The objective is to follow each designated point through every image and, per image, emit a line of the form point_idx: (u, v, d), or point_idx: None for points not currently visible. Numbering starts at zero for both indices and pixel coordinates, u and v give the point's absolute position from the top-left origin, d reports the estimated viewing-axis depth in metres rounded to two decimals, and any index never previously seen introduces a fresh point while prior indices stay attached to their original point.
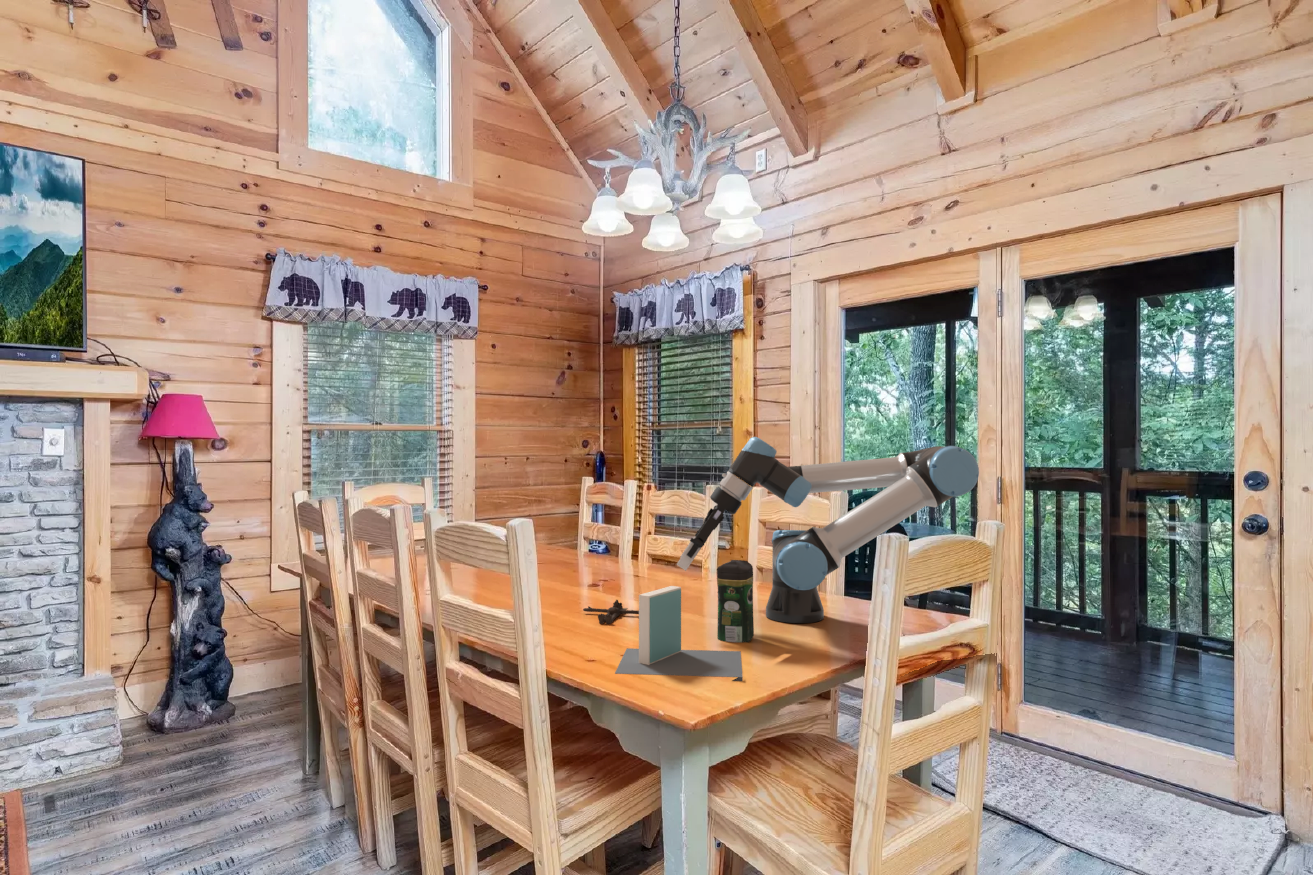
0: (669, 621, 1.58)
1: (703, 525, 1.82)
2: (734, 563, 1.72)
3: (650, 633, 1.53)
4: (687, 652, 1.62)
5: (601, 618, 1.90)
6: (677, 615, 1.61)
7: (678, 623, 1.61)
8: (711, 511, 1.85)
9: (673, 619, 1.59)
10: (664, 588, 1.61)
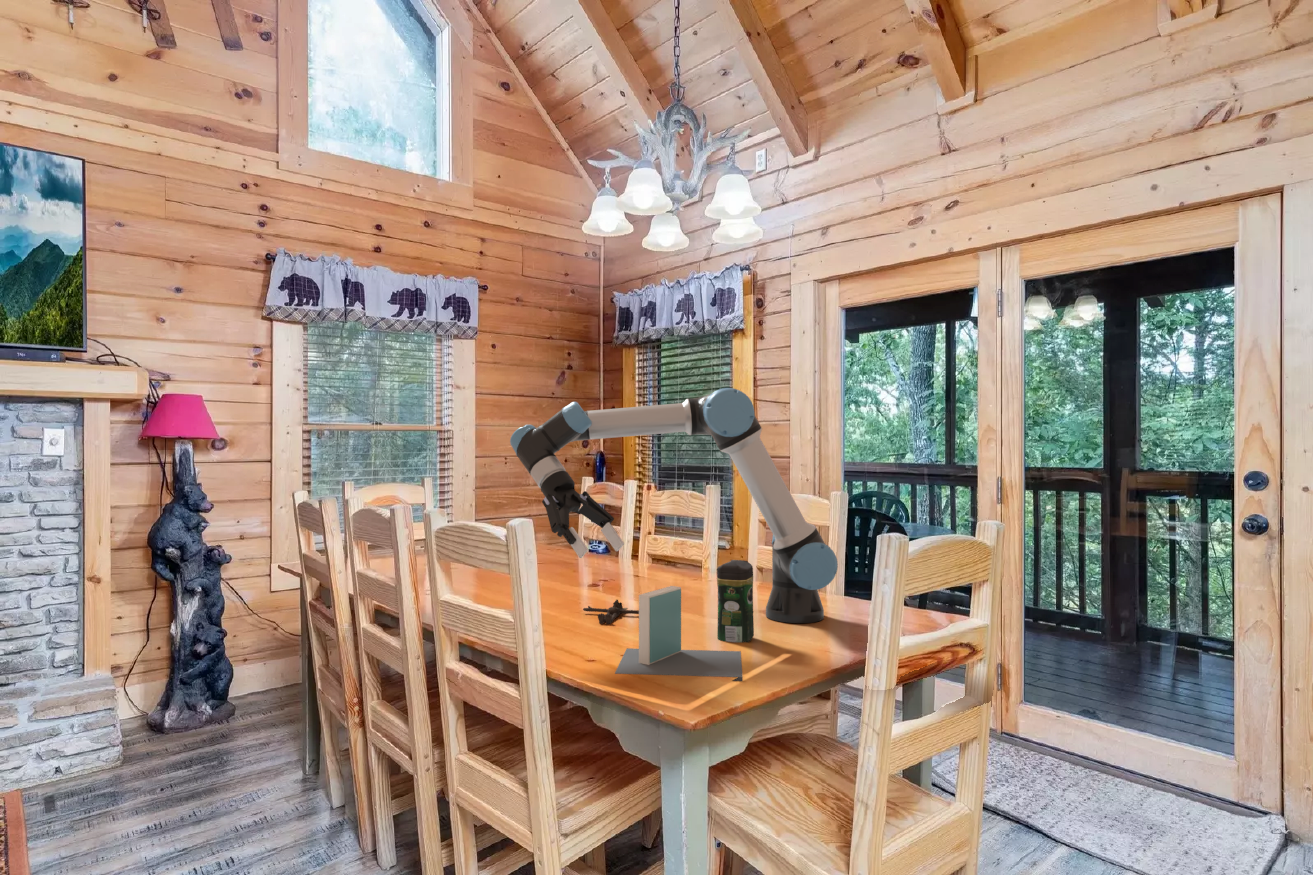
0: (669, 621, 1.58)
1: None
2: (734, 563, 1.72)
3: (650, 633, 1.53)
4: (687, 652, 1.62)
5: (601, 618, 1.90)
6: (677, 615, 1.61)
7: (678, 623, 1.61)
8: None
9: (673, 619, 1.59)
10: (664, 588, 1.61)
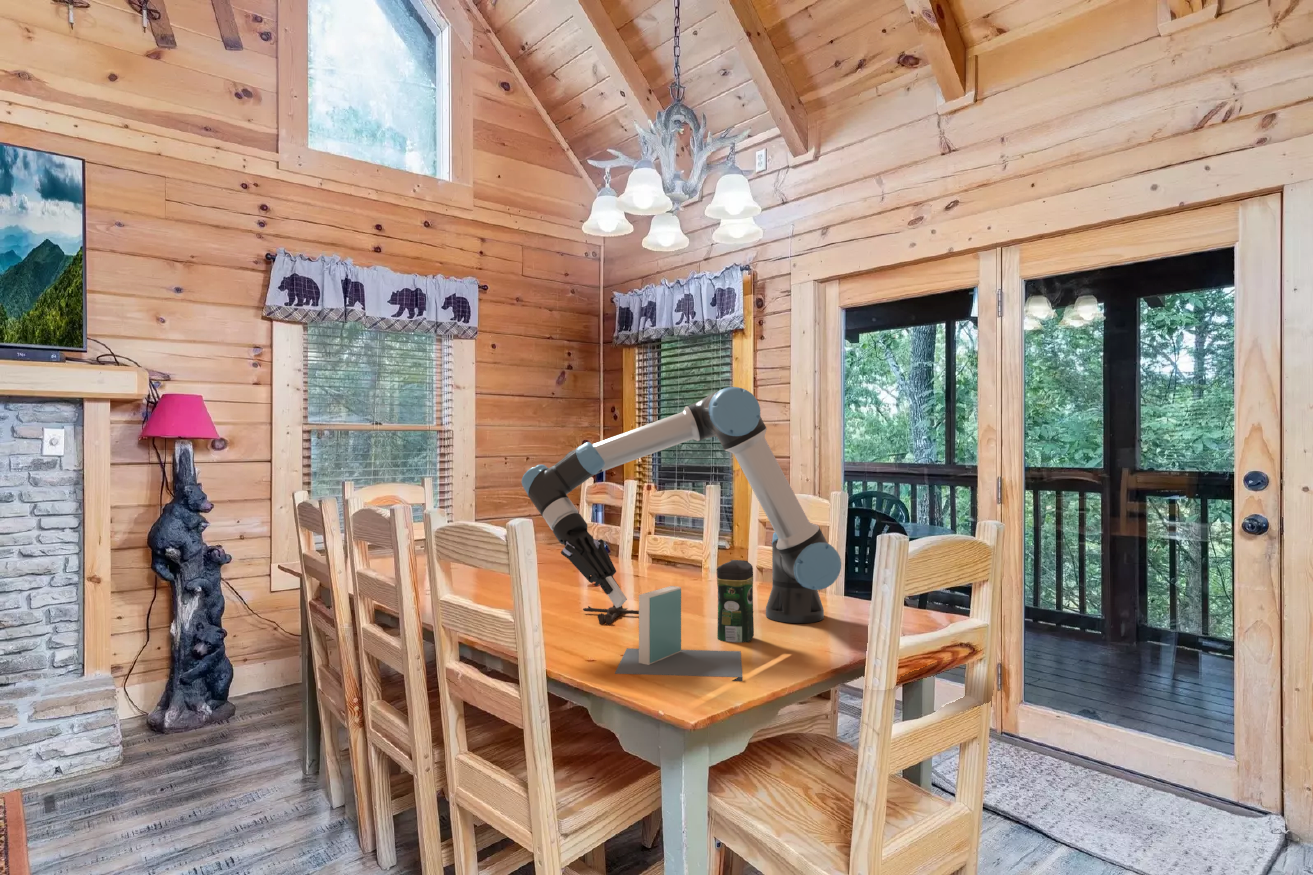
0: (669, 621, 1.58)
1: None
2: (734, 563, 1.72)
3: (650, 633, 1.53)
4: (687, 652, 1.62)
5: (601, 617, 1.90)
6: (677, 615, 1.61)
7: (678, 623, 1.61)
8: None
9: (673, 619, 1.59)
10: (664, 588, 1.61)
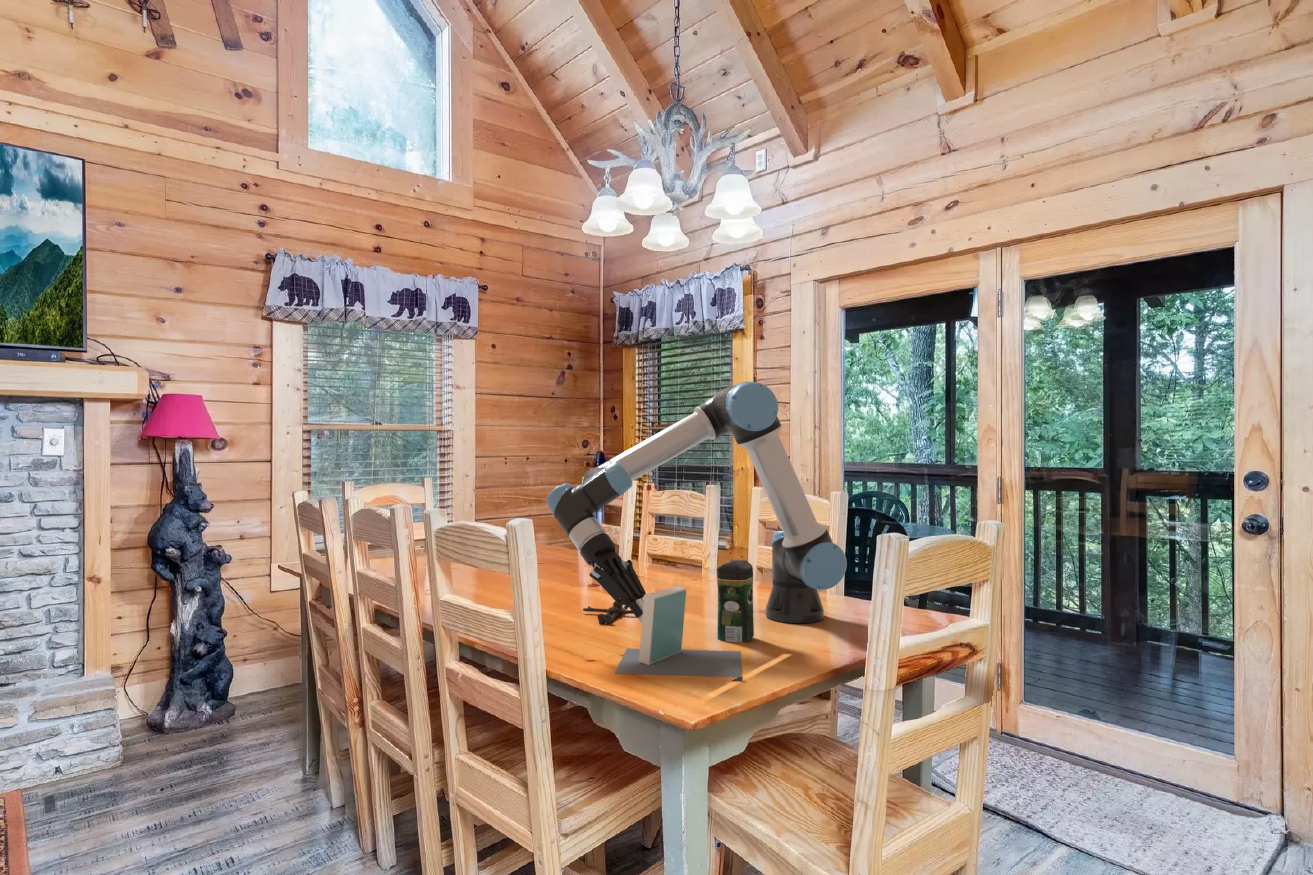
0: (672, 621, 1.58)
1: None
2: (734, 563, 1.72)
3: (653, 634, 1.52)
4: (687, 652, 1.62)
5: (600, 618, 1.90)
6: (680, 615, 1.60)
7: (680, 624, 1.61)
8: None
9: (676, 620, 1.59)
10: (669, 588, 1.60)
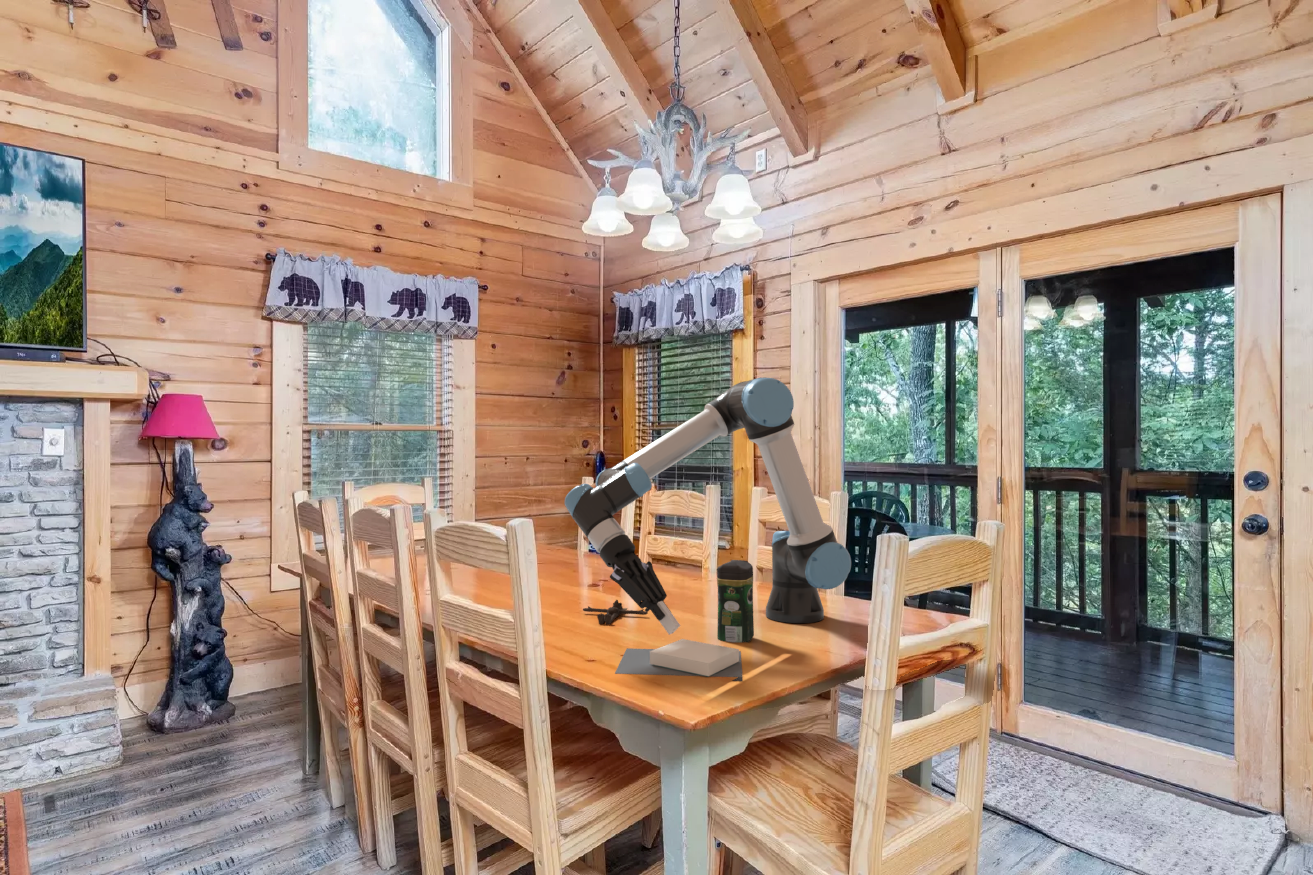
0: None
1: None
2: (734, 563, 1.72)
3: (676, 669, 1.49)
4: None
5: (600, 618, 1.90)
6: None
7: None
8: None
9: None
10: (730, 655, 1.51)
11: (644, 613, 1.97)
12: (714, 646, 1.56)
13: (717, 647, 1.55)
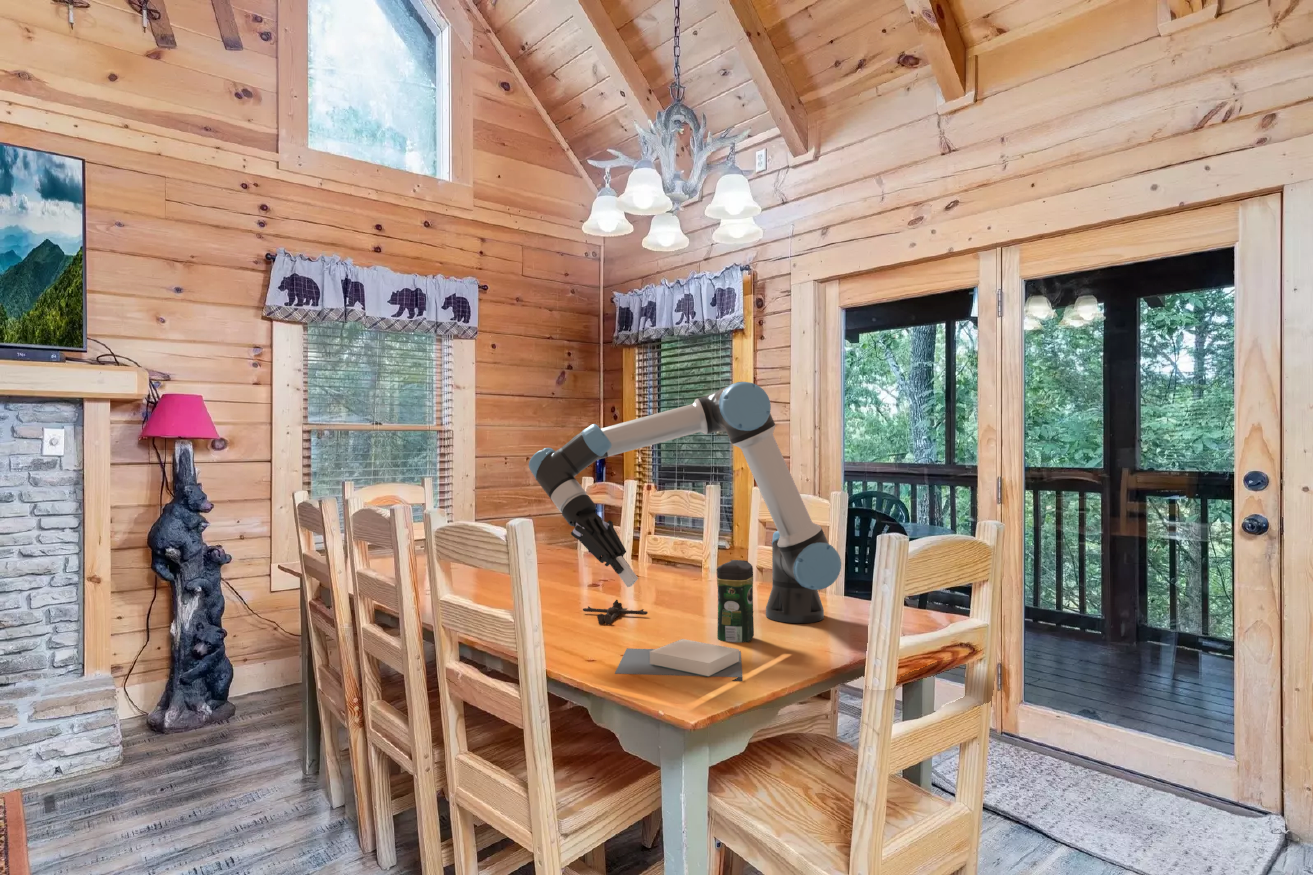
0: None
1: None
2: (734, 563, 1.72)
3: (676, 669, 1.49)
4: None
5: (600, 618, 1.90)
6: None
7: None
8: None
9: None
10: (730, 655, 1.51)
11: (644, 613, 1.97)
12: (714, 646, 1.56)
13: (717, 647, 1.55)
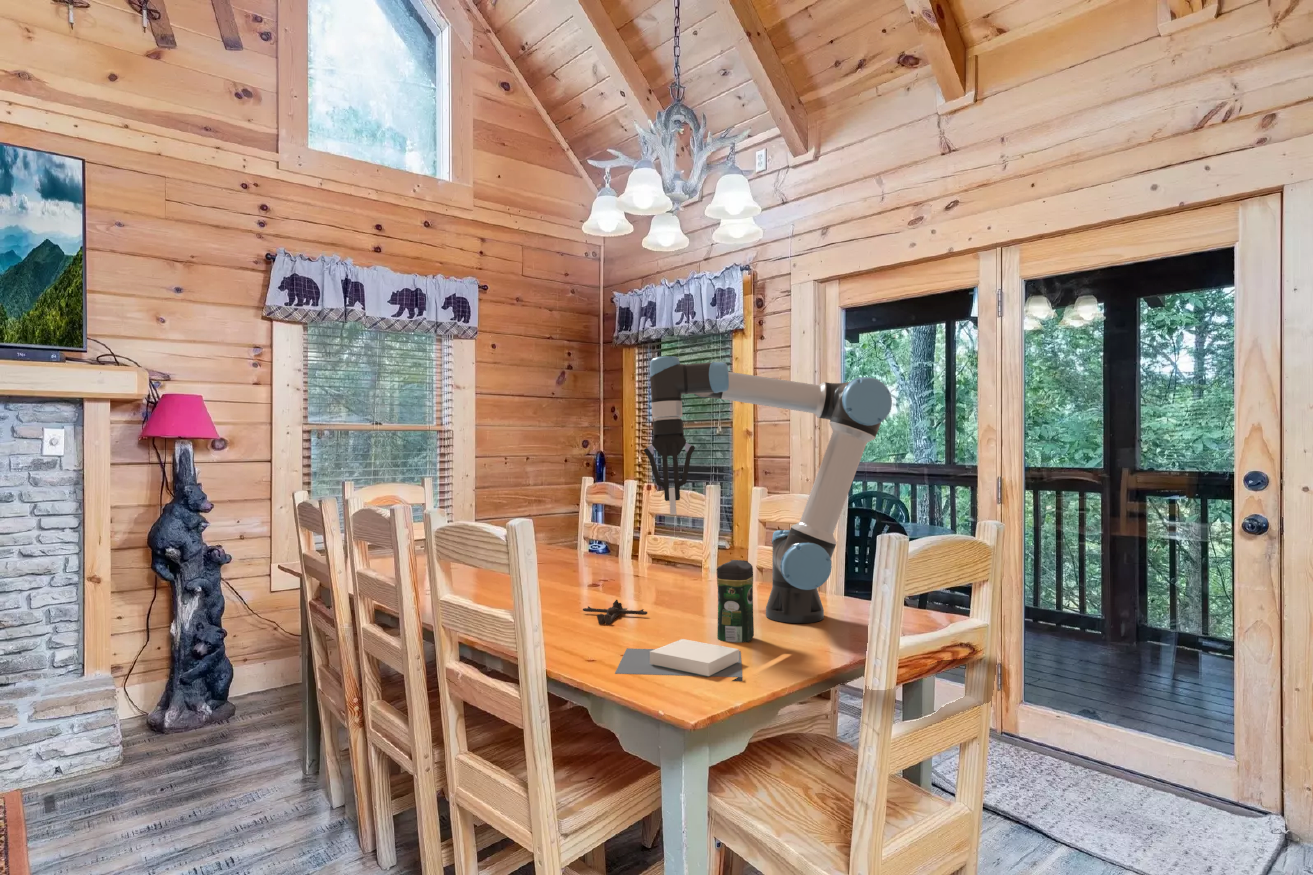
0: None
1: None
2: (734, 563, 1.72)
3: (676, 669, 1.49)
4: None
5: (600, 618, 1.90)
6: None
7: None
8: None
9: None
10: (730, 655, 1.51)
11: (644, 613, 1.97)
12: (714, 646, 1.56)
13: (717, 647, 1.55)
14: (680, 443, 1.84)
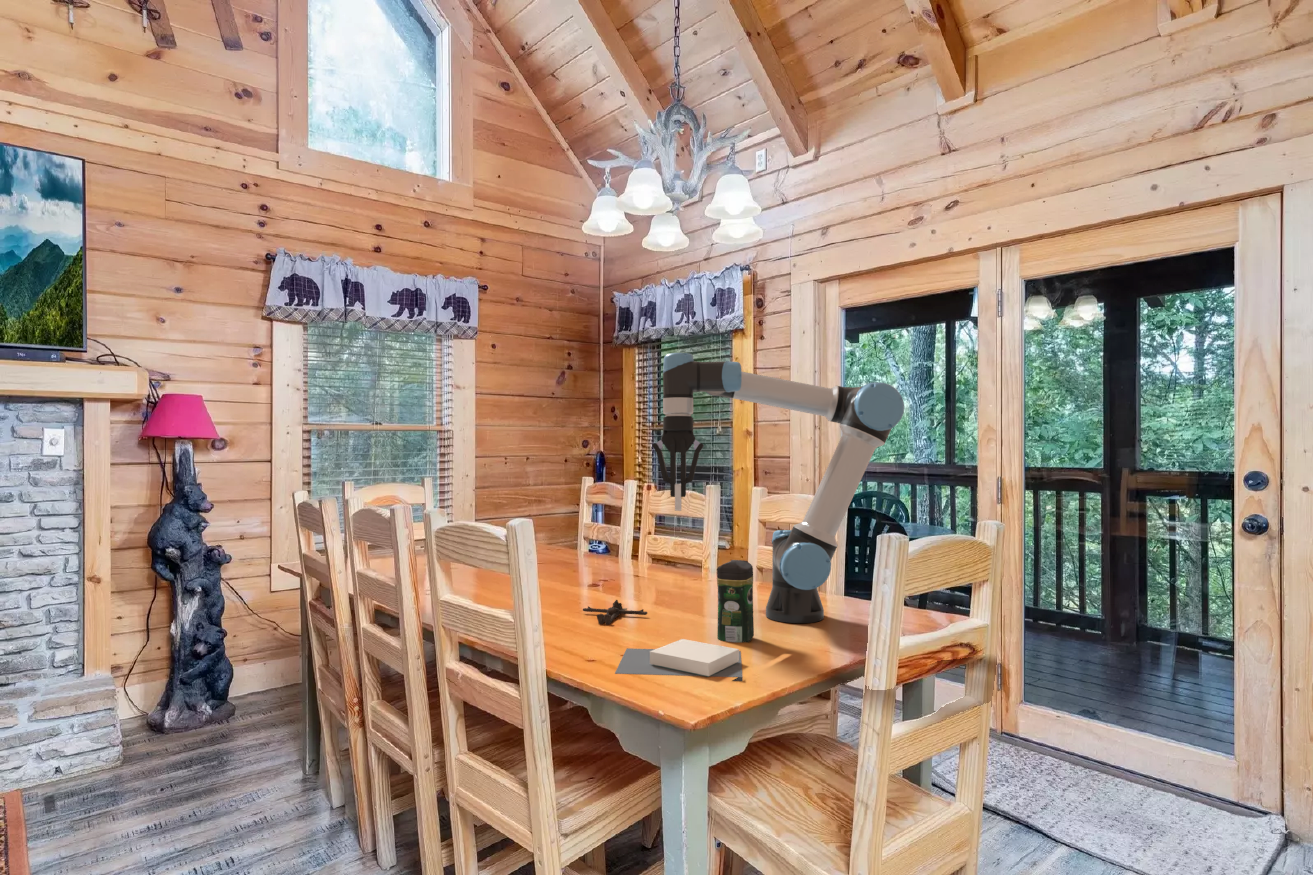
0: None
1: None
2: (734, 563, 1.72)
3: (676, 669, 1.49)
4: None
5: (600, 618, 1.90)
6: None
7: None
8: None
9: None
10: (730, 655, 1.51)
11: (644, 613, 1.97)
12: (714, 646, 1.56)
13: (717, 647, 1.55)
14: (689, 440, 1.85)
